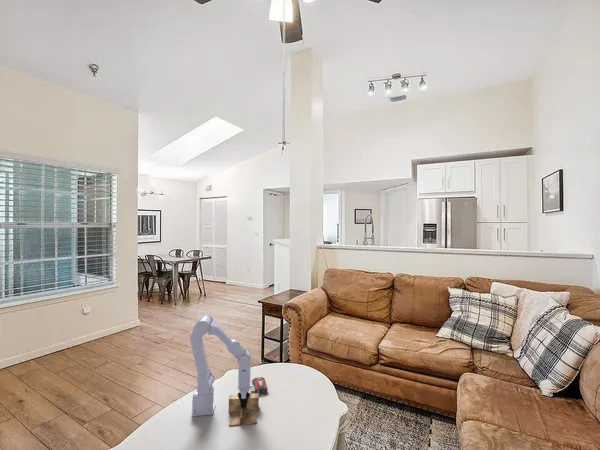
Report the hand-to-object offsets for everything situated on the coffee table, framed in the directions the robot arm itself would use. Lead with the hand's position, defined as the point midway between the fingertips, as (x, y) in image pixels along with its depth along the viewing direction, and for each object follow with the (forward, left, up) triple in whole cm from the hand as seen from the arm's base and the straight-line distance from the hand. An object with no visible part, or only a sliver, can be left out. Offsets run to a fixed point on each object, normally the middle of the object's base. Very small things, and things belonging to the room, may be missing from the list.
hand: (243, 404), depth 140 cm
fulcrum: (0, -8, -2) cm, 8 cm away
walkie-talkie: (+7, +13, -2) cm, 15 cm away
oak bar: (0, 0, -2) cm, 2 cm away
